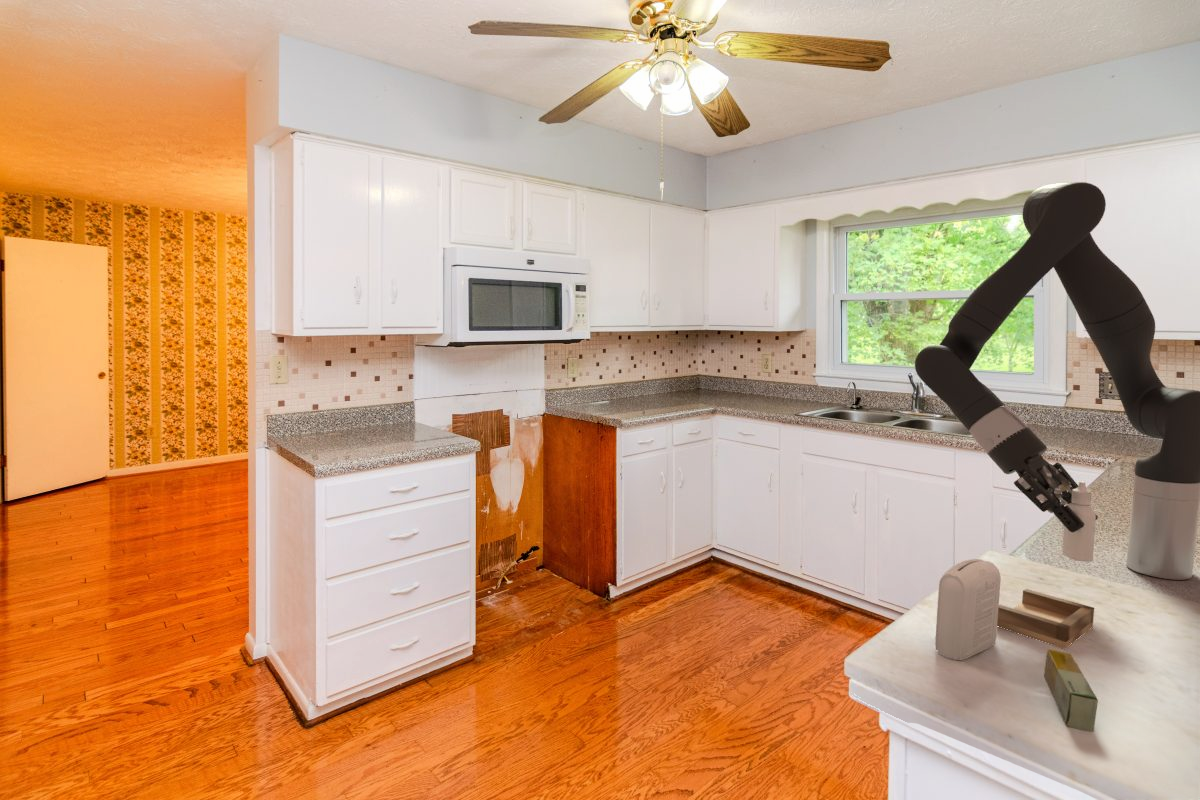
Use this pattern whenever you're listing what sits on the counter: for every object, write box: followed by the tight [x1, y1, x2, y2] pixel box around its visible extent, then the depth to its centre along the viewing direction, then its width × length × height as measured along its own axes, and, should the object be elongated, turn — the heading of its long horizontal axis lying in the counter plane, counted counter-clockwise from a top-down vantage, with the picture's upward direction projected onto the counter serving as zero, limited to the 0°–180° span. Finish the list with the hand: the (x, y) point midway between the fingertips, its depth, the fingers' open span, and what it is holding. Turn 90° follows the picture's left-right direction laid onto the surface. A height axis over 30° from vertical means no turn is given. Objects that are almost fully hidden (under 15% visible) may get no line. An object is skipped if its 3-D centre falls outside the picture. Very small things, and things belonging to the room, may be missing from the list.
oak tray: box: [997, 588, 1095, 650], centre depth 99 cm, size 11×9×3 cm
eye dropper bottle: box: [1061, 480, 1097, 563], centre depth 105 cm, size 4×6×12 cm
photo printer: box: [934, 558, 1002, 661], centre depth 91 cm, size 10×4×12 cm, turn 123°
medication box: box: [1043, 648, 1099, 732], centre depth 79 cm, size 12×3×4 cm, turn 157°
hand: (1085, 525), depth 104 cm, fingers closed on eye dropper bottle, 5 cm apart
